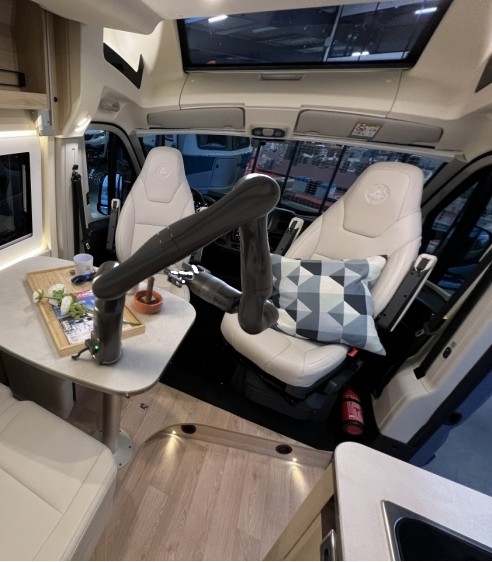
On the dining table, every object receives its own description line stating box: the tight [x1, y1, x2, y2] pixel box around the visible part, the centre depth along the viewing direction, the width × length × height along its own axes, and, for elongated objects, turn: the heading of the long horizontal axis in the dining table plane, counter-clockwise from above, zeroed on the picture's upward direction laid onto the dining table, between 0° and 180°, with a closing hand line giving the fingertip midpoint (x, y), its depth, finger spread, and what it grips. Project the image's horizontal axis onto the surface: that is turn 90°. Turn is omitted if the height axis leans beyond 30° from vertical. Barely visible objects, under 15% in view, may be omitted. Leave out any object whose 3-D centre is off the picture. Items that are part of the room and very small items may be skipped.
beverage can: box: [126, 283, 140, 295], centre depth 130 cm, size 6×6×12 cm
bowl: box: [132, 289, 164, 315], centre depth 122 cm, size 12×12×4 cm
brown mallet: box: [141, 275, 156, 305], centre depth 120 cm, size 5×4×14 cm
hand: (173, 266), depth 99 cm, fingers open, 8 cm apart
